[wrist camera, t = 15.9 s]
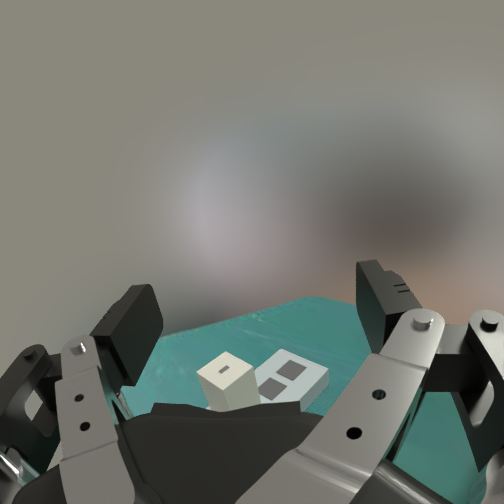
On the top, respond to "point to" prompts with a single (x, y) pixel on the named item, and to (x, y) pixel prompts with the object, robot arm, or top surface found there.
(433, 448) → the top surface
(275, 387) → the power strip
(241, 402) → the block
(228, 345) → the top surface
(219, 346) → the top surface
